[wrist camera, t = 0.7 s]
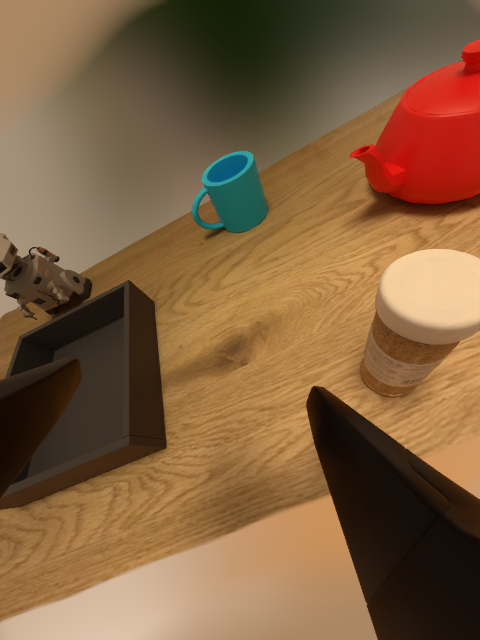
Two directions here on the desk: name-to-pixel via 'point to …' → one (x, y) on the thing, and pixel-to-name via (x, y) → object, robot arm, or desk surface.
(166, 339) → the desk surface
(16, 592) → the desk surface
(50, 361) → the dark grey tray
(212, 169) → the mug
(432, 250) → the sprinkles bottle
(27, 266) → the figurine
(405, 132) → the teapot
